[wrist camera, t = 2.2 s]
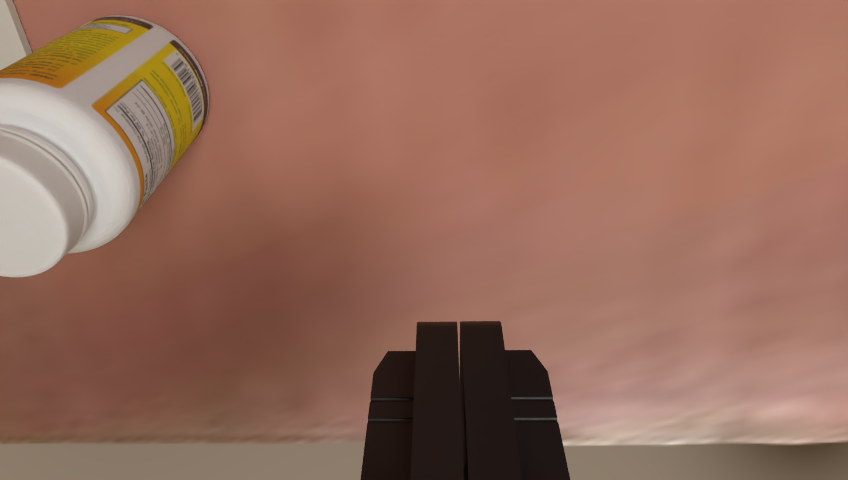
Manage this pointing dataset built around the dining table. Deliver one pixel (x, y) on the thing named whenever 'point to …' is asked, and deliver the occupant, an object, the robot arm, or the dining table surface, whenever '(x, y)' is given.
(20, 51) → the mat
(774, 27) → the dining table surface
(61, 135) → the supplement bottle
